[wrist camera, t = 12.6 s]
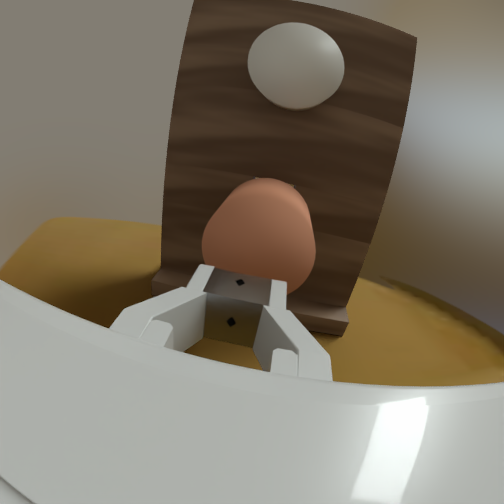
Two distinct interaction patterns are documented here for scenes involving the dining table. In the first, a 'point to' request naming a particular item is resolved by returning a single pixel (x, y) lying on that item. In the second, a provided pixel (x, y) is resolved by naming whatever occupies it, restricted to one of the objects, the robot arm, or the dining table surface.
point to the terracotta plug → (262, 233)
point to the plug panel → (285, 143)
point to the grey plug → (295, 65)
